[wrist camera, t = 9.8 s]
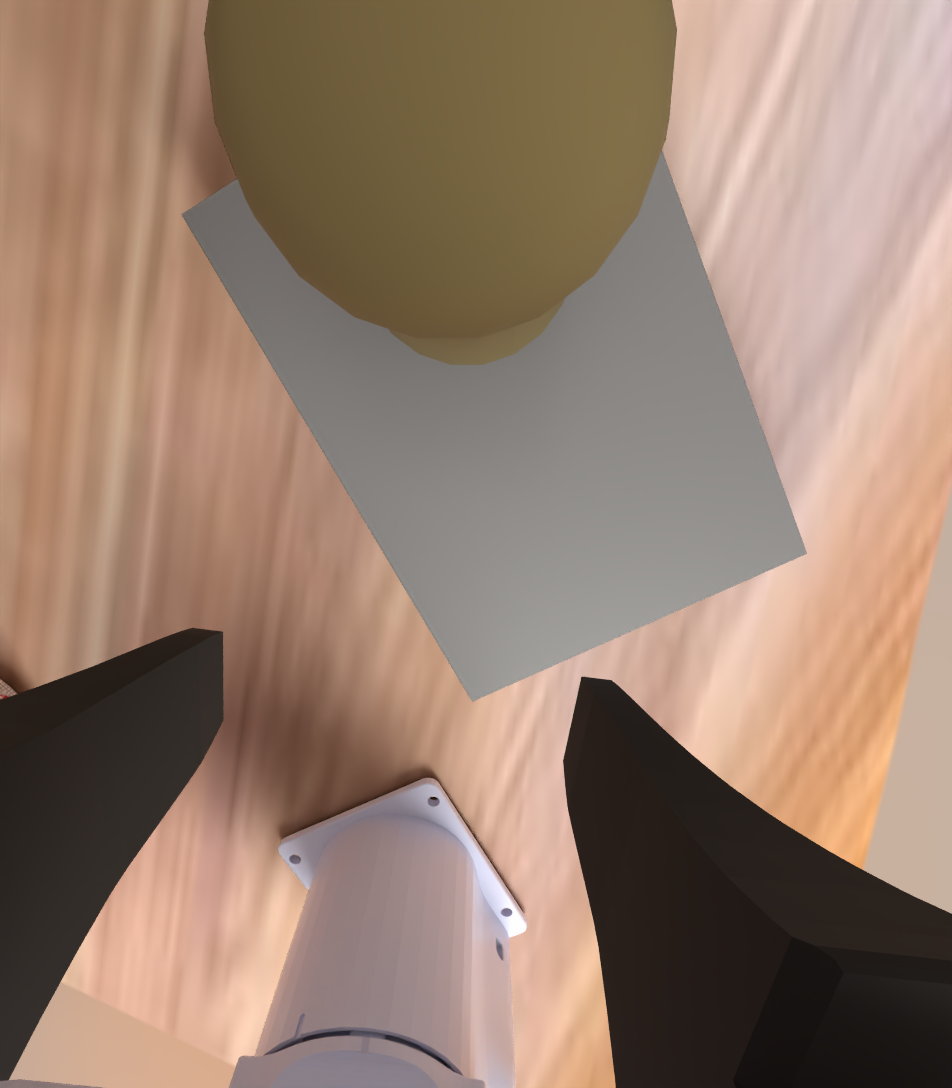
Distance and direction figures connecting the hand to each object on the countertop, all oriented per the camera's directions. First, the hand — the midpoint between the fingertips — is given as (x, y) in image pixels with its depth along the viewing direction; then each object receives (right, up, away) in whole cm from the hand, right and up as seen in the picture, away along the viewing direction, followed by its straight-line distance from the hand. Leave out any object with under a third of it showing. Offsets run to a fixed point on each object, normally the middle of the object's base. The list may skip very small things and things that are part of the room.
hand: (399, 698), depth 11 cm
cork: (+1, +11, +4) cm, 12 cm away
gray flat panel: (+3, +8, +8) cm, 12 cm away
